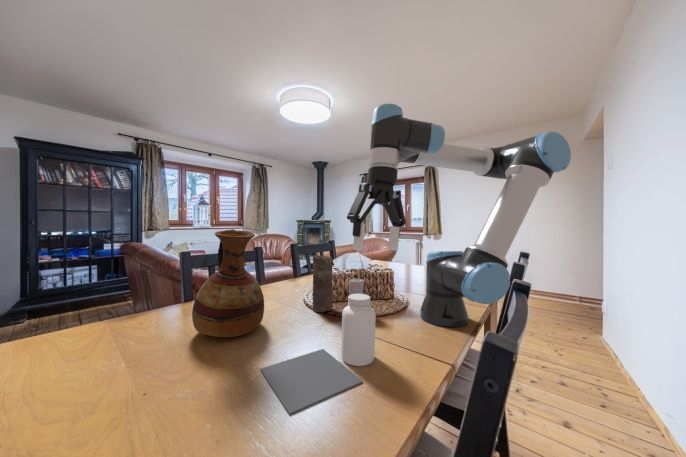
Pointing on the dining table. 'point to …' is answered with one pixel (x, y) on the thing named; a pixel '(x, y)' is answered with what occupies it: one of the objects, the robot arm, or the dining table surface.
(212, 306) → the ceramic pitcher
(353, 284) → the energy drink
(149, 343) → the dining table surface
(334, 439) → the dining table surface
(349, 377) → the mat
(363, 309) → the pill bottle
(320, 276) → the candle
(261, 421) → the dining table surface
